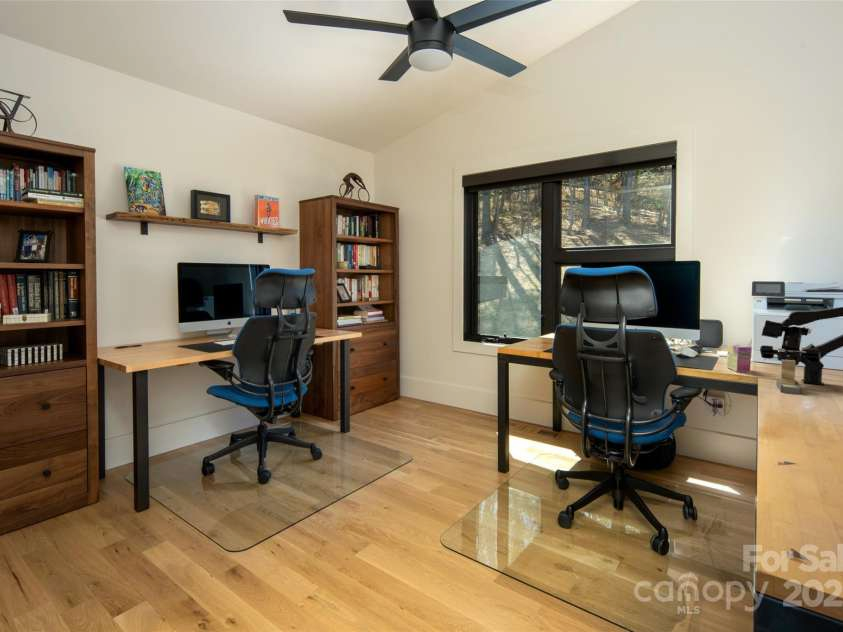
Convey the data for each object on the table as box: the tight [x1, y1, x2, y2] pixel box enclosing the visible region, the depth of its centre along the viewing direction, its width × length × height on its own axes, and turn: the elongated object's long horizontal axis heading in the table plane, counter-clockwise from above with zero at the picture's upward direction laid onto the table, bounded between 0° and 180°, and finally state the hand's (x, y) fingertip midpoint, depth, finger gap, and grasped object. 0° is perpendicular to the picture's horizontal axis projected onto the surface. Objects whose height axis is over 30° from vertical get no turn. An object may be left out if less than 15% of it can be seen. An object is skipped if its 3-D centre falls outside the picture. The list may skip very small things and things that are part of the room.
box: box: [726, 343, 752, 373], centre depth 216 cm, size 10×6×12 cm, turn 168°
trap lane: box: [776, 378, 803, 395], centre depth 177 cm, size 12×6×3 cm, turn 149°
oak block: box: [780, 360, 796, 385], centre depth 179 cm, size 4×4×9 cm
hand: (786, 370), depth 183 cm, fingers closed
